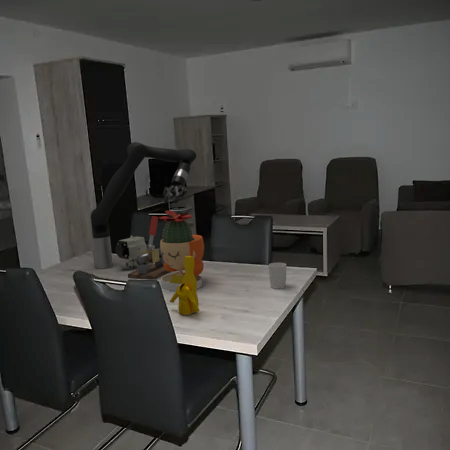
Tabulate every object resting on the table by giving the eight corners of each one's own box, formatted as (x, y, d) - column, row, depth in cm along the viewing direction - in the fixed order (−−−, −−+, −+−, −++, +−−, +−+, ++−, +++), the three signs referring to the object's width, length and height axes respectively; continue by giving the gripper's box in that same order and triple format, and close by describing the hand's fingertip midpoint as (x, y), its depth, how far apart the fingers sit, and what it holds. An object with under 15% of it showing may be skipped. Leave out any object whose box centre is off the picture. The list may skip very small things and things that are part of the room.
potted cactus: (183, 293, 196) (177, 215, 190) (152, 285, 211) (145, 212, 205) (217, 281, 212) (212, 208, 206) (185, 274, 227) (180, 206, 221)
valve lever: (146, 247, 229) (151, 216, 233) (149, 248, 231) (154, 217, 235) (150, 247, 228) (155, 216, 232) (153, 248, 230) (158, 217, 234)
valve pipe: (135, 274, 224) (133, 249, 222) (158, 264, 242) (156, 241, 240) (145, 275, 222) (143, 249, 220) (167, 265, 240) (165, 241, 237)
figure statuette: (166, 310, 177) (162, 256, 173) (182, 304, 182) (178, 252, 178) (195, 321, 164) (191, 263, 160) (211, 314, 169) (207, 258, 166)
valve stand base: (128, 277, 227) (127, 273, 227) (150, 267, 245) (150, 263, 244) (154, 280, 220) (154, 276, 220) (175, 269, 238) (175, 265, 237)
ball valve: (126, 272, 237) (123, 239, 234) (117, 270, 243) (113, 238, 240) (152, 264, 251) (150, 233, 248) (143, 262, 256) (140, 232, 253)
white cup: (288, 284, 201) (287, 262, 199) (285, 289, 194) (284, 267, 192) (271, 283, 204) (270, 262, 202) (267, 288, 196) (266, 266, 195)
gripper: (166, 175, 255) (156, 198, 247) (187, 174, 249) (178, 198, 240) (171, 183, 261) (162, 206, 252) (193, 183, 255) (184, 206, 246)
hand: (170, 202), depth 246 cm, fingers open, 5 cm apart
